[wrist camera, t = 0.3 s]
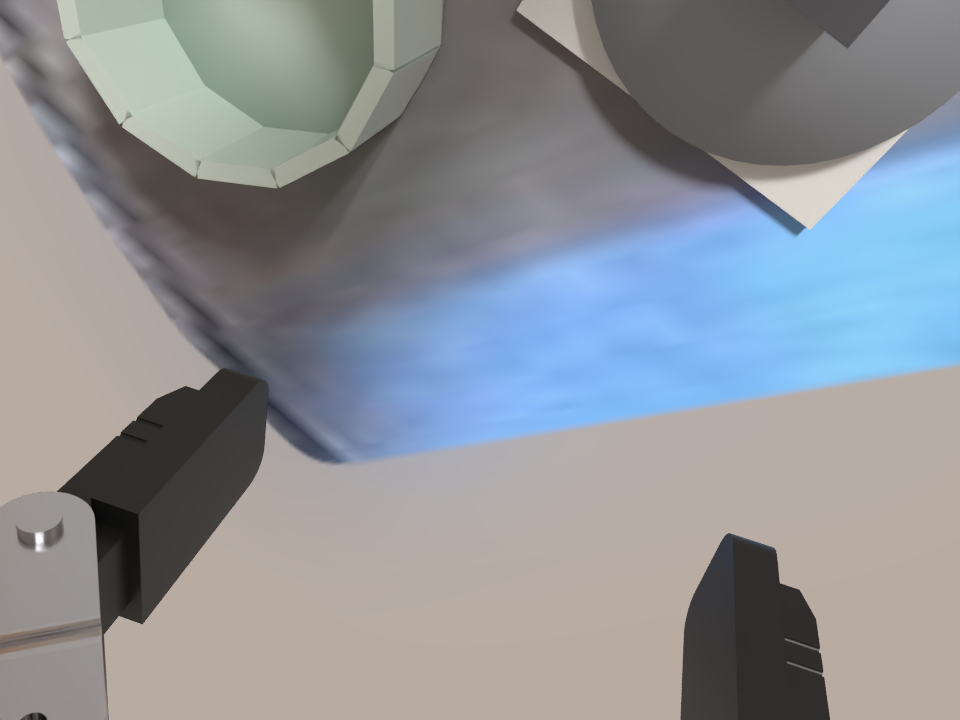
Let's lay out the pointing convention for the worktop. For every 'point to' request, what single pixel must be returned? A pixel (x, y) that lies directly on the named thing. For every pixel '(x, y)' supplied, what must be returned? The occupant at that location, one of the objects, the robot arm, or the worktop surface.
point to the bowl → (254, 76)
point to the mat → (796, 188)
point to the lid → (784, 71)
